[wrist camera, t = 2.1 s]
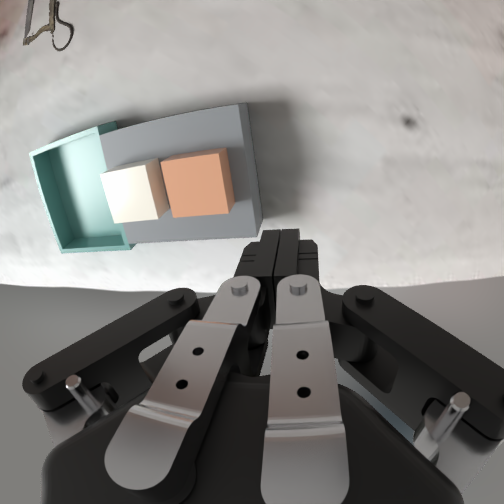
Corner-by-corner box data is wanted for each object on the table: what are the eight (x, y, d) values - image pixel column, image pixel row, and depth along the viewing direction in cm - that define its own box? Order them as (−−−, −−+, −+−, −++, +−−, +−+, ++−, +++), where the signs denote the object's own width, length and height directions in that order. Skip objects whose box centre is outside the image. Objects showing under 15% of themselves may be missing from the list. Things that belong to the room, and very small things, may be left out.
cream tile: (157, 157, 26) (144, 164, 24) (169, 208, 28) (158, 219, 26) (114, 166, 27) (100, 174, 25) (127, 213, 29) (114, 223, 27)
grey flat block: (246, 102, 26) (238, 104, 22) (262, 219, 31) (257, 237, 28) (120, 128, 29) (99, 135, 25) (145, 227, 34) (128, 243, 31)
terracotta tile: (226, 147, 24) (218, 153, 22) (235, 202, 27) (228, 213, 25) (172, 155, 25) (160, 162, 23) (183, 207, 28) (173, 217, 26)
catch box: (115, 121, 28) (97, 126, 25) (144, 235, 35) (130, 249, 32) (47, 145, 31) (28, 152, 28) (76, 240, 37) (61, 253, 34)
